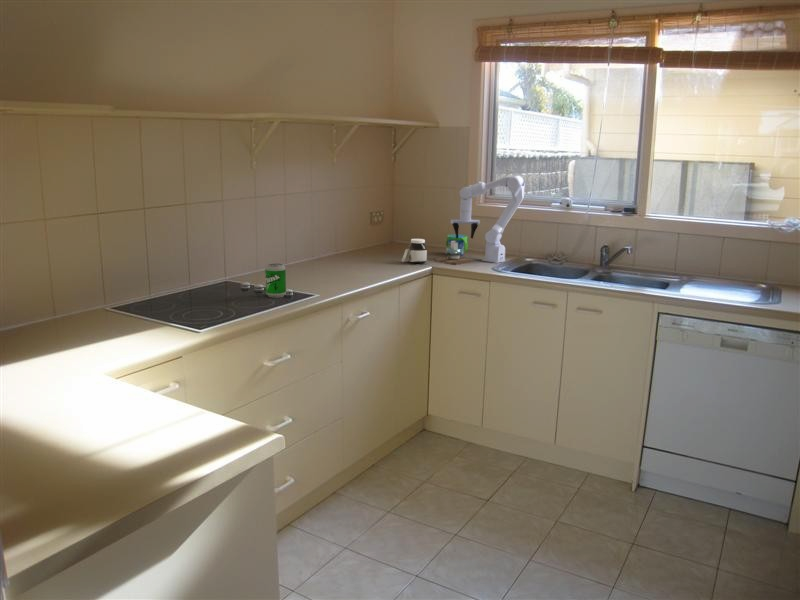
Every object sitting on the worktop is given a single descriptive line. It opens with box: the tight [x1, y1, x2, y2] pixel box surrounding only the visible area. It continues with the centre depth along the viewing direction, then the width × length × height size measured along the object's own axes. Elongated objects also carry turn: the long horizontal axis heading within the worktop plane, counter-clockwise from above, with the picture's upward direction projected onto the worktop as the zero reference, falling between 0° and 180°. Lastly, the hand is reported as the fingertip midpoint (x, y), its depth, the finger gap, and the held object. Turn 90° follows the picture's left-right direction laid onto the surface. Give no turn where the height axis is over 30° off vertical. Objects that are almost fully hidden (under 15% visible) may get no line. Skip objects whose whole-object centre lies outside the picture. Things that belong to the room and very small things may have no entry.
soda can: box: [264, 262, 287, 298], centre depth 262 cm, size 8×8×12 cm
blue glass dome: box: [445, 241, 462, 256], centre depth 343 cm, size 9×8×6 cm
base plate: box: [433, 254, 474, 265], centre depth 344 cm, size 14×14×4 cm
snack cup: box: [445, 234, 469, 257], centre depth 362 cm, size 16×10×10 cm
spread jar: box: [401, 238, 428, 265], centre depth 336 cm, size 12×11×12 cm
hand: (464, 238), depth 351 cm, fingers open, 7 cm apart
